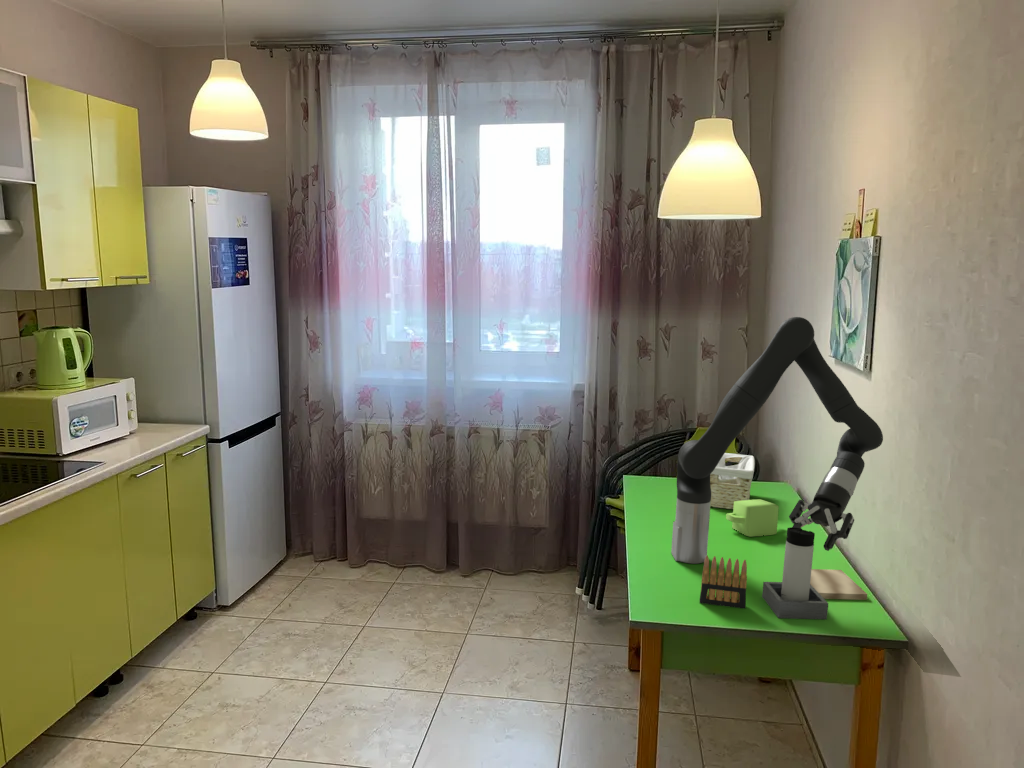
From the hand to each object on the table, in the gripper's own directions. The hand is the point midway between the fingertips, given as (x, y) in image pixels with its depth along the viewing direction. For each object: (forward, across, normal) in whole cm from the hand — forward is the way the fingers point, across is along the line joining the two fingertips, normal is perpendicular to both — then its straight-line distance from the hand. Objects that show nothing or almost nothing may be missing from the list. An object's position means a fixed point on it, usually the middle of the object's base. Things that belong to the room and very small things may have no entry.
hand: (808, 543), depth 182 cm
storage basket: (-29, -59, +51) cm, 83 cm away
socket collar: (+14, 0, +7) cm, 16 cm away
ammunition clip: (+23, -12, -1) cm, 26 cm away
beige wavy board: (+1, -1, +21) cm, 21 cm away
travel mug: (+14, 0, +8) cm, 16 cm away
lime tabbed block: (-15, -36, +37) cm, 53 cm away
